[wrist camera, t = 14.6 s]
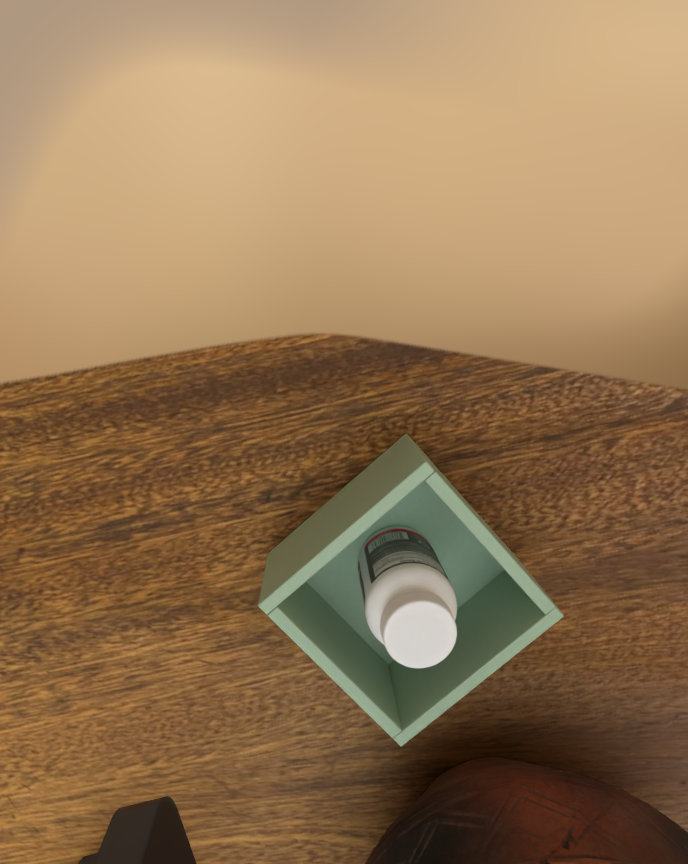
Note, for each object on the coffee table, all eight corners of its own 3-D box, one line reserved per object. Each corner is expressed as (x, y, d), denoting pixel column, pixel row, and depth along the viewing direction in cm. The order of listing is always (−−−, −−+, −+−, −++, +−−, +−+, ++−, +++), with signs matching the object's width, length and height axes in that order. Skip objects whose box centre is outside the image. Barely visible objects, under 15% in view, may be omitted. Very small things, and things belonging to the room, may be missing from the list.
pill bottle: (421, 605, 43) (451, 691, 33) (347, 587, 42) (356, 668, 33) (444, 534, 42) (483, 602, 32) (369, 515, 42) (386, 577, 32)
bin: (267, 553, 42) (257, 606, 35) (406, 432, 41) (426, 460, 34) (386, 674, 45) (401, 747, 37) (522, 563, 43) (564, 616, 36)
